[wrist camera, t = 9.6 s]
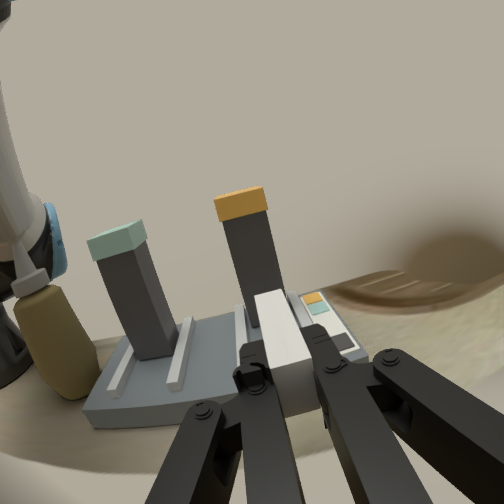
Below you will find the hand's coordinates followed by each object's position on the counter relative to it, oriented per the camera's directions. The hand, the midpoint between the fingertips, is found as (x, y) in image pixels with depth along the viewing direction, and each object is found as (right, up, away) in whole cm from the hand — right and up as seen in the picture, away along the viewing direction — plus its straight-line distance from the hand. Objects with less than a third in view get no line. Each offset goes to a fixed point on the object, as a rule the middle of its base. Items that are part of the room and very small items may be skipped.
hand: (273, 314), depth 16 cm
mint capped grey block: (-11, -7, +13) cm, 18 cm away
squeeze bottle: (-21, -13, +12) cm, 28 cm away
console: (-4, -8, +12) cm, 15 cm away
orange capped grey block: (+1, -3, +15) cm, 15 cm away
